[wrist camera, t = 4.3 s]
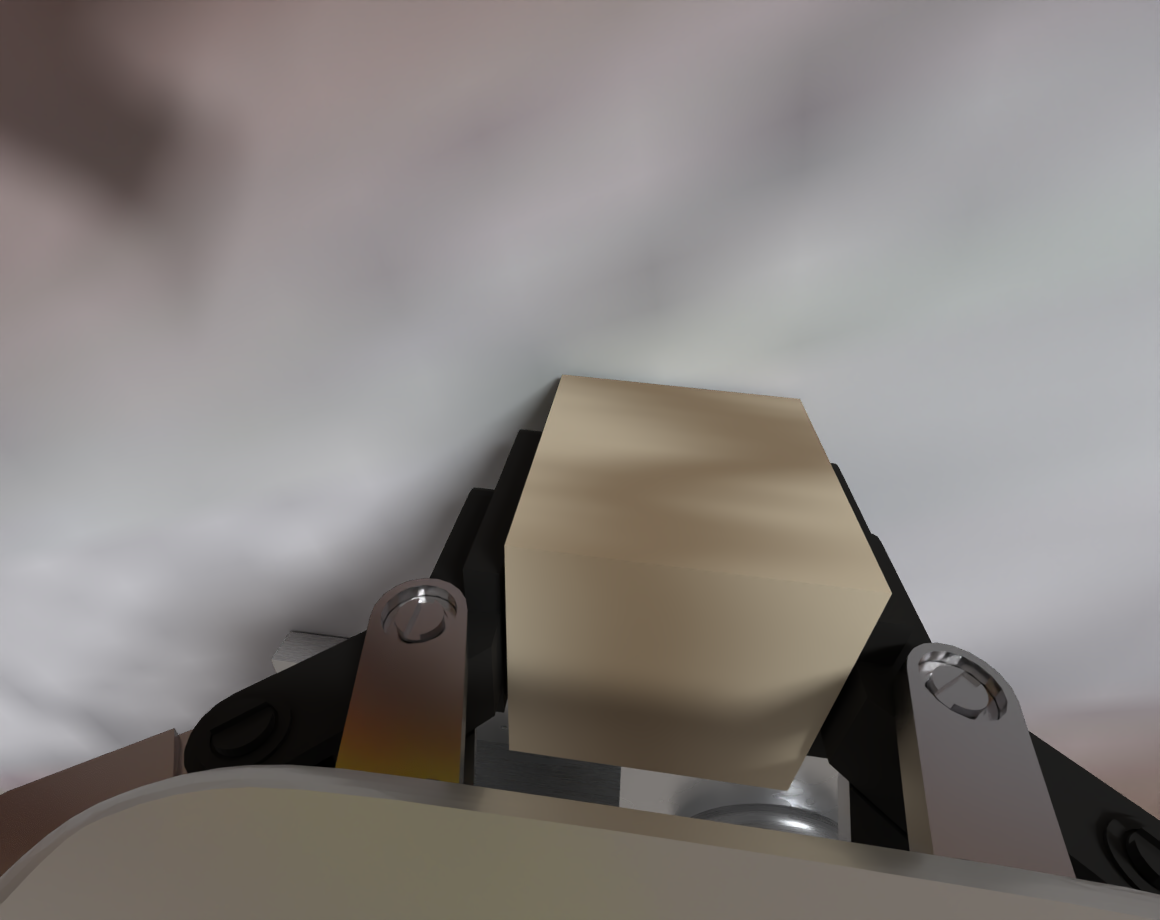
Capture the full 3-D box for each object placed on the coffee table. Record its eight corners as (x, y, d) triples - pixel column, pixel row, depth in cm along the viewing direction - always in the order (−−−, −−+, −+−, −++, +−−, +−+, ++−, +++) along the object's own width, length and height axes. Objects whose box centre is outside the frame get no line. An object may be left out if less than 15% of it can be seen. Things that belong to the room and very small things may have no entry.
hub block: (799, 398, 11) (892, 593, 6) (745, 571, 13) (787, 791, 9) (562, 374, 11) (504, 545, 7) (554, 548, 13) (509, 750, 9)
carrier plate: (978, 721, 15) (1029, 817, 13) (826, 911, 23) (843, 991, 21) (290, 631, 17) (238, 707, 15) (364, 841, 24) (337, 910, 22)
